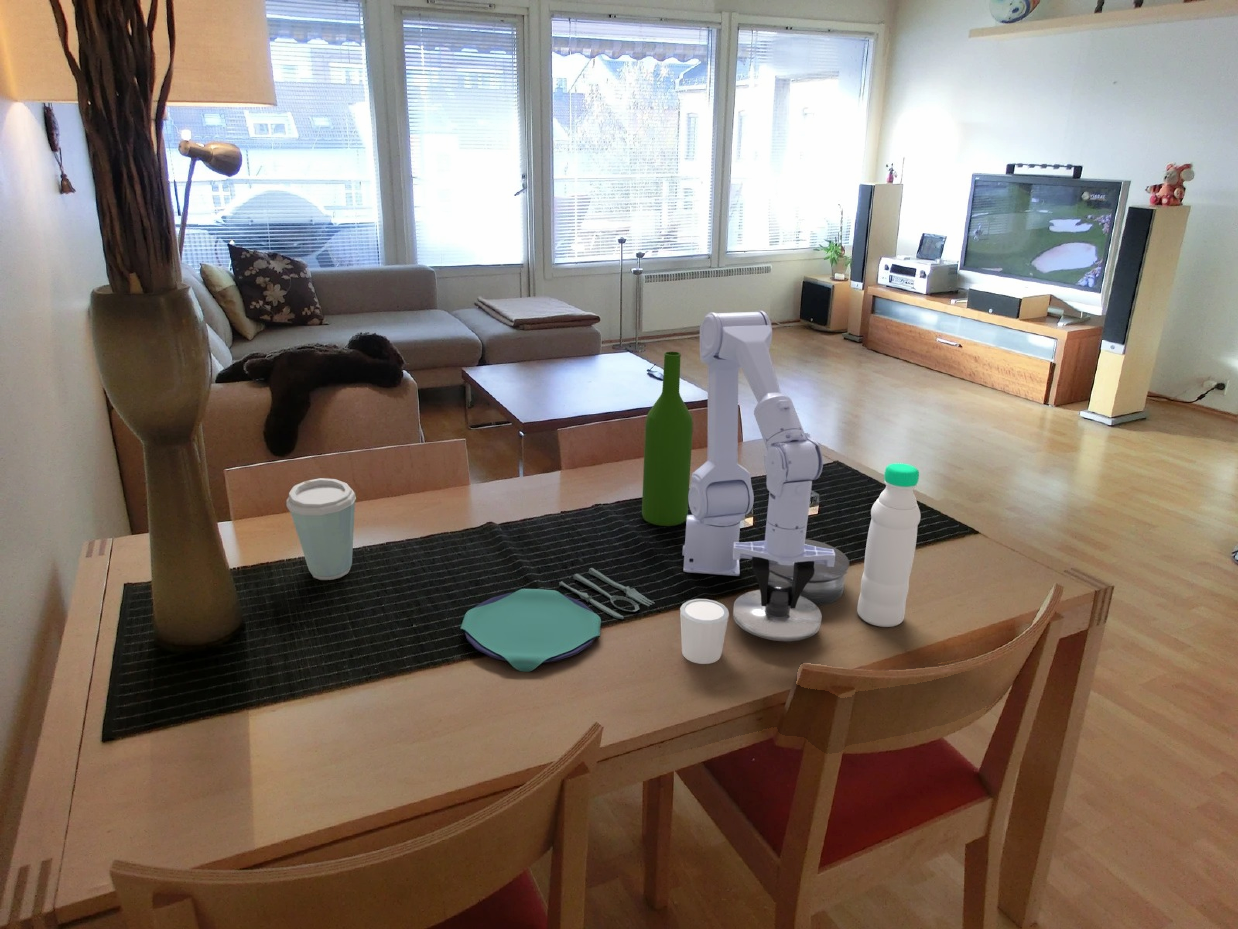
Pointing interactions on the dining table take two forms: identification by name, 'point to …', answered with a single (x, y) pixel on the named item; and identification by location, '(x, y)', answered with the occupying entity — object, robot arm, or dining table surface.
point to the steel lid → (777, 614)
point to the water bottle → (890, 548)
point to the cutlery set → (540, 623)
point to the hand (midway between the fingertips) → (777, 604)
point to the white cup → (703, 630)
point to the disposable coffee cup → (324, 525)
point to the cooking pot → (816, 577)
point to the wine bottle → (667, 452)
